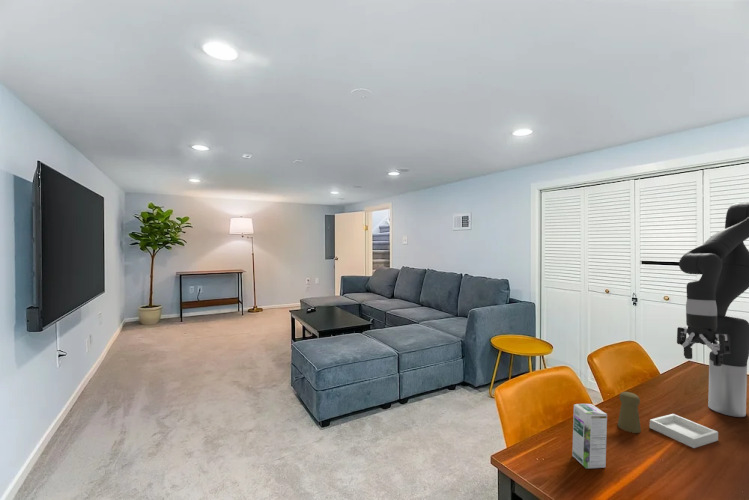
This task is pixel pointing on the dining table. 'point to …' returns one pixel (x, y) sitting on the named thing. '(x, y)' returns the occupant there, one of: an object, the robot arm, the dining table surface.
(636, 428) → the cork
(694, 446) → the keeper tray
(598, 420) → the syrup box
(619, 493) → the dining table surface
